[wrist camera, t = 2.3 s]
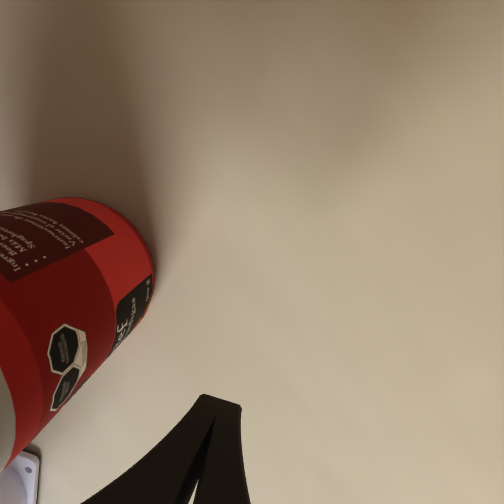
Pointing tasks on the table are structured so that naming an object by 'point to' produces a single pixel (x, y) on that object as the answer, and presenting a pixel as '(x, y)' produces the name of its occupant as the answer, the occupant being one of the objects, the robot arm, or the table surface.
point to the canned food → (62, 306)
